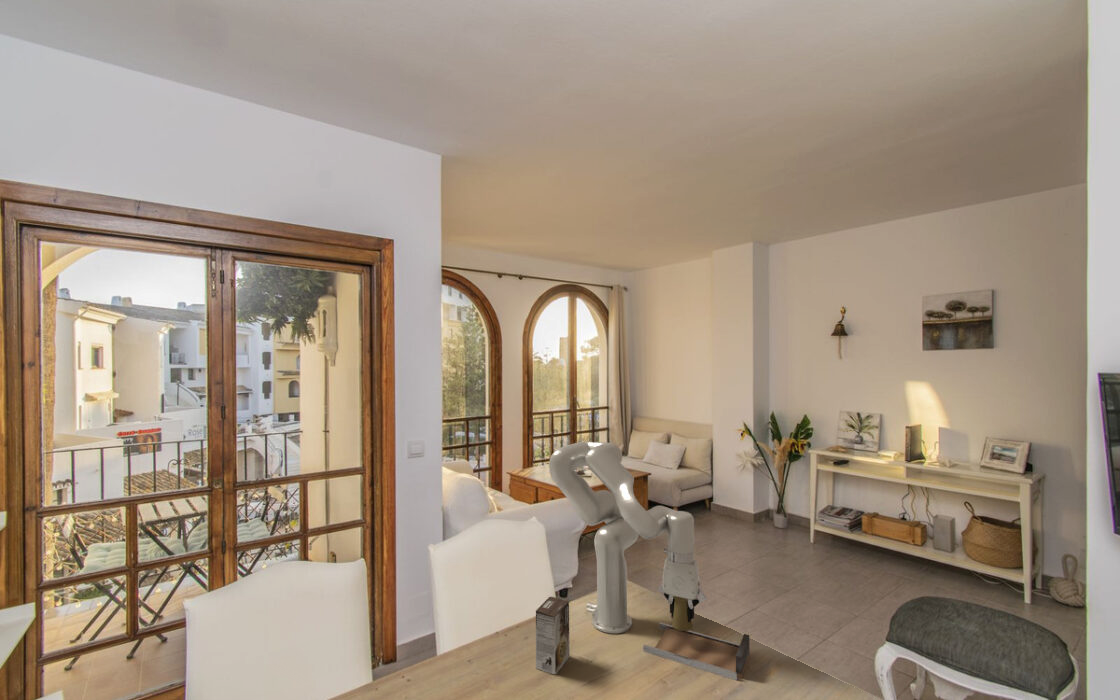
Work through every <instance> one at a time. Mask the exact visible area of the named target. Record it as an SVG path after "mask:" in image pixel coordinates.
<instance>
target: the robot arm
mask: <svg viewBox="0 0 1120 700" xmlns="http://www.w3.org/2000/svg"><path fill="white" fill-rule="evenodd" d="M622 461H623V453H622V450H621V448H620V447H619V446H618V445H616V444H614V443H613V442H612V443H611V442H604V441H603V442H601V441H600V442H598V441H579V442H575V443H571V444H568V445H567V444H566V445H563V446H561V447H559V448H557V449H556V450H554V452H553V453H552V454H551V456H550V458H549V461H548V468H549V475H550V477H551V479H552V481H553V482H554V484H555V485H556V486H557V487H558V489H559V490H560V491H561V492H562V494H563V495H564V496H565V497H566V499H567V501H568V502H569V503H570V505H571V507H572V508H573V509H574V510H575V512H576V513H577V515H578V516H579V518H580V519H581V520H582V521H583V523H584V524H585V525H587V526H590V527H594V526H597V525H599V524H601V523H603V522H604V523H605V524H604V525H602V526H601V527H599V529H598V530H597V531H596V533H595V536H594V539H593V540H594V541H593V543H594V550H595V556H596V598H597V599H596V603H593V602H589V601H588V602H587V603H586V613H590V614H593V616H592V625H593V627H594V628H596V630H599V631H600V632H603V633H607V634H621V633H625V632H627V631H628V630H631V628H632V625H633V619H632V617H631V616H630V615H629V614H628V566H627V561H626V558H625V554H624V553H625V551H626V550H627V549H628V548H629V547H631V546H633V544H634V543H636V542H637V540H638V538H639V537H641V538H643V539H645V540H653V539H656V538H657V537H659V536H660V535H661V534H664V533H667V547H666V548H663V553H664V554H667V555H666V557H665V559H664V564H663V573H662V582H661V584H660V585H659V587H658V588H657V589H658V591H659V592H660V593H661V594H663V596H664V598H665V599H666V600H667V602H668V604H669V614H671V619H672V618H673V613H674V600H675V599H674V597H673V596H676V597H681V598H684V599H688V604H689V605H688V608H687V616H688V622H691V620H692V621H693V620H694V618H695V607H696V606H697V605H699V604H701V603H703V602H705V601H706V599H707V596H706V595H705V593H704V592H703V590H702V588H701V581H700V574H699V573H700V572H699V566H698V562H697V560H696V559H695V519H694V516H693V515H692V513H690V512H689V511H683V510H674V509H672V508H669V507H666V506H664V505H656V506H653V507H652V508H650V509H648V510H646V509H645V507H643V506H642V505H641V504H640V502H639V501H638V499H637V498H636V496H635V493H634V483H635V477H634V475H633V474H632V473H631V472H630V471H629V470H628V469H627V468H626V467H625V466H624V465H623V464H622V463H621V462H622ZM583 467H587V468H589V470H590V471H591V472H592V473H593V474H594V475H595V476H596V478H598V479H599V480H600V481H601V482H602V484H603V485H604V486H605V487H606V488H607V490H605V489H601V490H597V491H594V490H593V489H592V487H591V486H590V485H589V484H588V482H587V480H585V478H584V477H582V476H581V475H579V474H578V473H577V472H576V471H575V470H578V469H581V468H583Z"/></svg>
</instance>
